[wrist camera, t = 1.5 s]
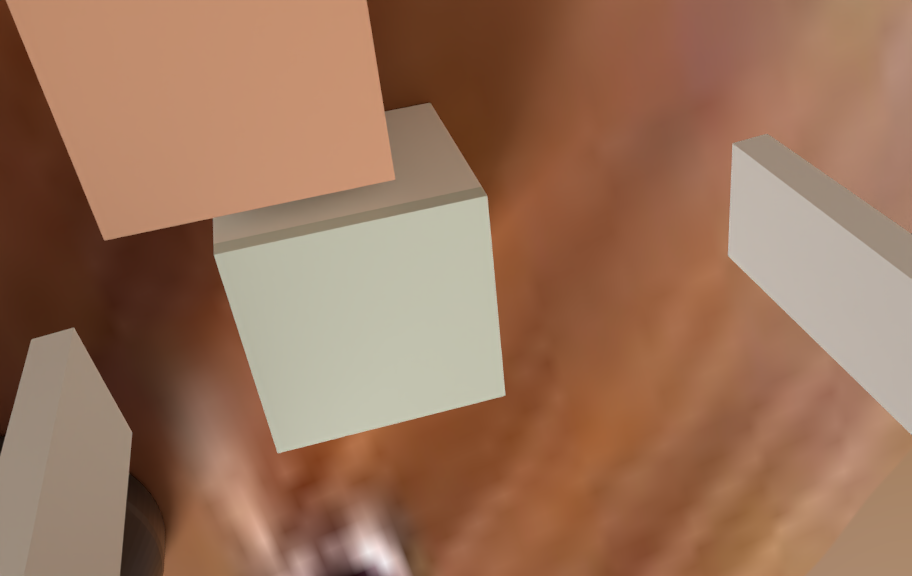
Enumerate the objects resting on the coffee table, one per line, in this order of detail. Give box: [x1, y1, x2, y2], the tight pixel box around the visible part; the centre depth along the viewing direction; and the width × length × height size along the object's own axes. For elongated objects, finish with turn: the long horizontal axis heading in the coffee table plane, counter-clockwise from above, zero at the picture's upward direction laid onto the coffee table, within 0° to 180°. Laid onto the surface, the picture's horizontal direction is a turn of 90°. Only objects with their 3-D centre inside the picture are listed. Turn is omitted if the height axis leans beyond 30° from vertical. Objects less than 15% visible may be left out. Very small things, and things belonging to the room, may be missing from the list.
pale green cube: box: [213, 103, 505, 453], centre depth 34 cm, size 9×9×9 cm
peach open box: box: [6, 0, 395, 241], centre depth 27 cm, size 9×9×9 cm
